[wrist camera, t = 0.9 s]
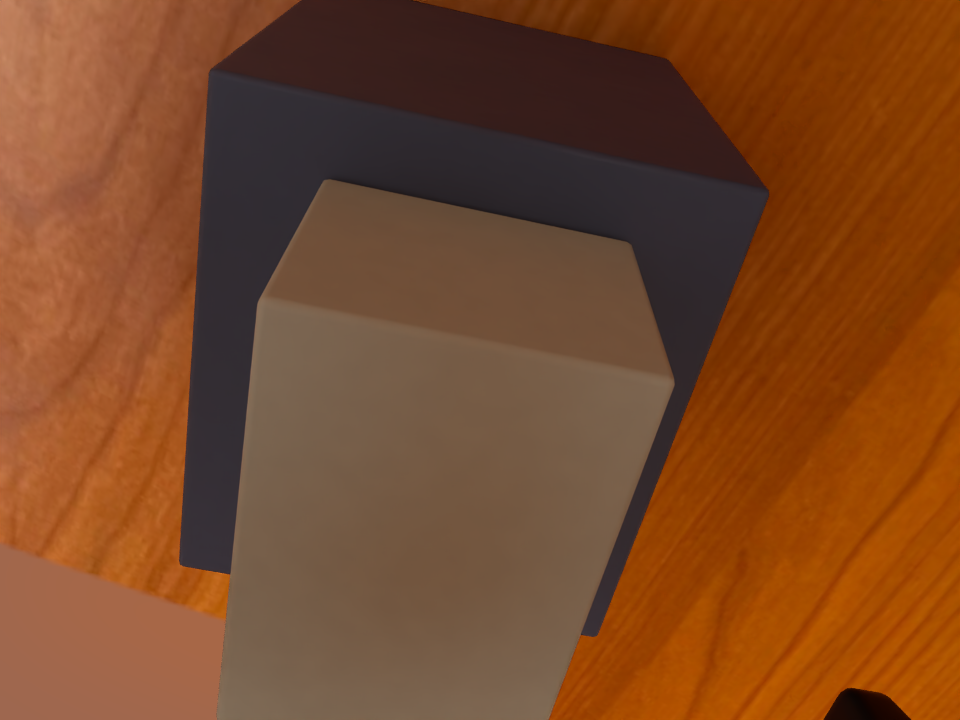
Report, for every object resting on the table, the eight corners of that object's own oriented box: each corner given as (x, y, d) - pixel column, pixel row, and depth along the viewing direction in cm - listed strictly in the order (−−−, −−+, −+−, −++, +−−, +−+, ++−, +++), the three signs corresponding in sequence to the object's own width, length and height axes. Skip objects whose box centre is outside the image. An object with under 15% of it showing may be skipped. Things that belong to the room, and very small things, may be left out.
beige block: (524, 581, 14) (529, 777, 11) (276, 537, 14) (213, 727, 11) (633, 240, 12) (679, 382, 8) (323, 175, 11) (255, 297, 8)
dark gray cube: (567, 389, 22) (597, 640, 15) (283, 333, 21) (176, 567, 14) (670, 59, 18) (773, 191, 11) (324, -21, 18) (207, 68, 11)
